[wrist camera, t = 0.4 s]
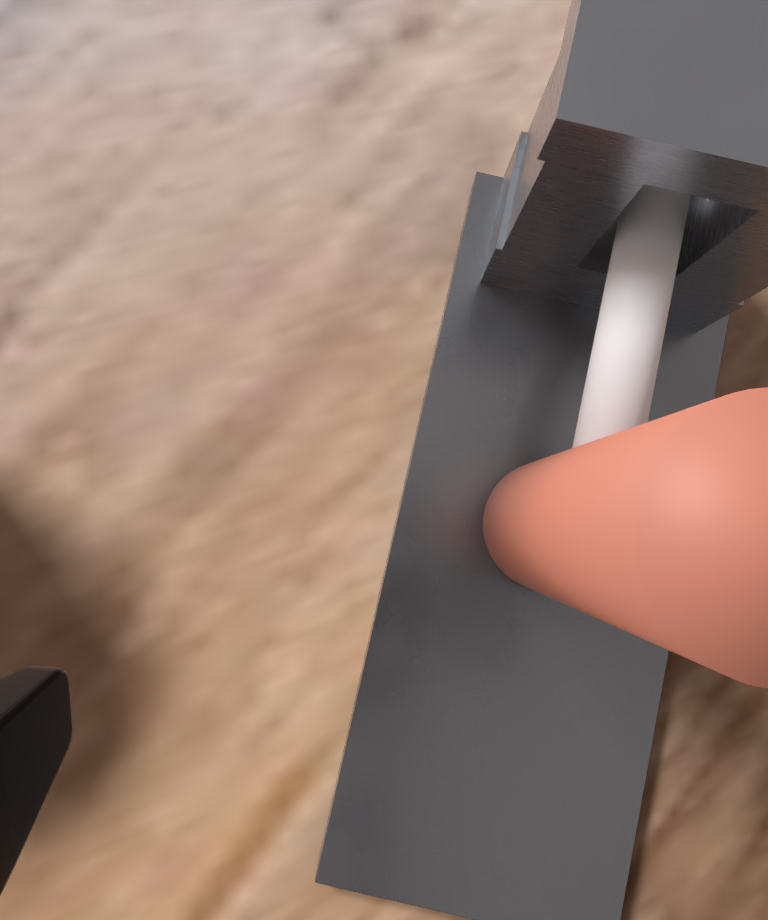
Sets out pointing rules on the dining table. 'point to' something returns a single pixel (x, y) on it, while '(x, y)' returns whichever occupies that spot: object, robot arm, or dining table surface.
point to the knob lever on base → (648, 482)
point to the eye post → (533, 438)
